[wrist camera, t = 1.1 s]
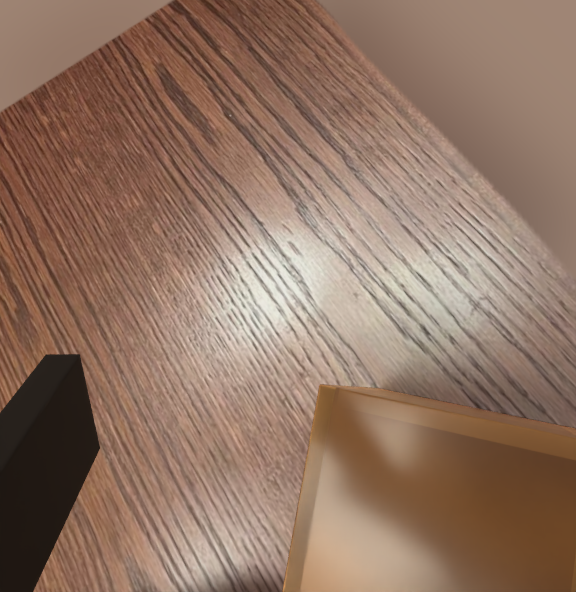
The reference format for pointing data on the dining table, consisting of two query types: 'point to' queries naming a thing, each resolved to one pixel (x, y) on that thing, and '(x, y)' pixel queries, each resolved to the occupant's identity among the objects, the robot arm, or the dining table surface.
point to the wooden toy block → (432, 499)
